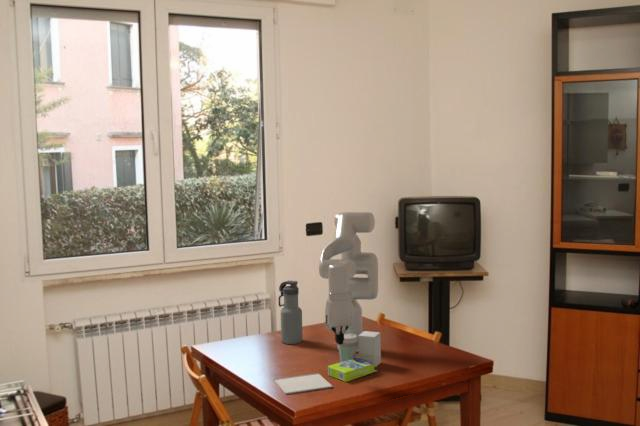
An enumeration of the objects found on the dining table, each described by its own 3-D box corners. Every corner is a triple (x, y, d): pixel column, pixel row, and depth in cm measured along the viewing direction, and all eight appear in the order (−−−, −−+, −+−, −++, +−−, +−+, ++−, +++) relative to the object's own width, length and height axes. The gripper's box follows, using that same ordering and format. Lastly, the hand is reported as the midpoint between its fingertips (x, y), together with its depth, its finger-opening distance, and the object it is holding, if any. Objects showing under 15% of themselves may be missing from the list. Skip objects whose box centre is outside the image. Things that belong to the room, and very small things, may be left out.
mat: (318, 374, 254) (318, 373, 254) (333, 387, 239) (333, 386, 239) (273, 380, 248) (273, 379, 248) (286, 394, 233) (286, 393, 233)
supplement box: (381, 362, 267) (381, 332, 266) (375, 367, 261) (374, 337, 260) (364, 360, 271) (364, 330, 269) (358, 365, 264) (357, 335, 263)
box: (327, 365, 252) (360, 355, 263) (327, 375, 253) (360, 365, 264) (345, 372, 244) (378, 361, 255) (345, 383, 245) (378, 372, 256)
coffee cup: (352, 369, 259) (351, 340, 258) (333, 366, 264) (333, 337, 263) (362, 363, 266) (361, 334, 265) (344, 360, 271) (343, 332, 270)
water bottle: (276, 342, 298) (274, 282, 296) (288, 337, 306) (287, 278, 304) (294, 345, 293) (293, 284, 290) (306, 340, 301) (305, 280, 299)
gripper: (353, 292, 252) (353, 338, 255) (316, 296, 247) (317, 343, 249) (361, 296, 245) (361, 343, 248) (323, 300, 240) (324, 348, 242)
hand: (339, 343), depth 248 cm, fingers closed
